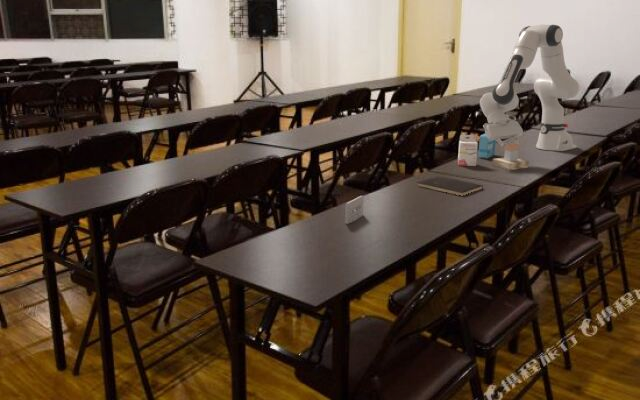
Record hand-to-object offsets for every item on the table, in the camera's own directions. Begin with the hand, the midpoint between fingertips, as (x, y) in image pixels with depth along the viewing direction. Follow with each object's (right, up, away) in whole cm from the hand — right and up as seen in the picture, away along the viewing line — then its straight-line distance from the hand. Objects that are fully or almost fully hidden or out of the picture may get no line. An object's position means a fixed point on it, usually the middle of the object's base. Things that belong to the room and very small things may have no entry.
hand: (510, 144), depth 287 cm
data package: (-5, -4, +23) cm, 24 cm away
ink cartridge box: (-20, -10, +6) cm, 23 cm away
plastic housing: (0, -8, +1) cm, 8 cm away
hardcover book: (-37, -22, -32) cm, 54 cm away
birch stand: (0, -10, +2) cm, 11 cm away
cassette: (-81, -35, -71) cm, 113 cm away
